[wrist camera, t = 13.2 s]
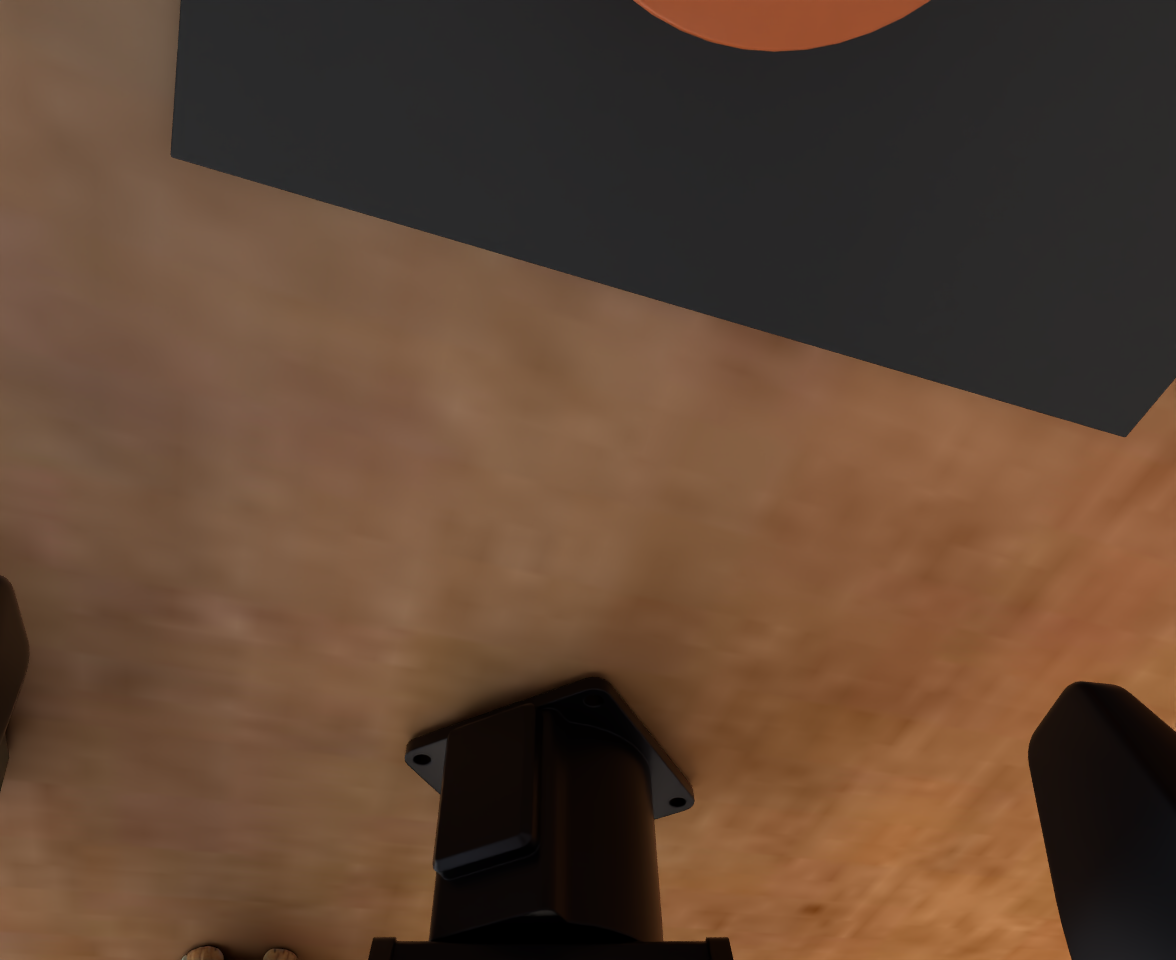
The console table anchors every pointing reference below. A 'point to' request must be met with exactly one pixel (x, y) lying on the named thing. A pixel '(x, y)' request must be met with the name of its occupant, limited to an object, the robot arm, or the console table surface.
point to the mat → (752, 167)
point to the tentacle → (3, 759)
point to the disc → (779, 20)
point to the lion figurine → (209, 956)
